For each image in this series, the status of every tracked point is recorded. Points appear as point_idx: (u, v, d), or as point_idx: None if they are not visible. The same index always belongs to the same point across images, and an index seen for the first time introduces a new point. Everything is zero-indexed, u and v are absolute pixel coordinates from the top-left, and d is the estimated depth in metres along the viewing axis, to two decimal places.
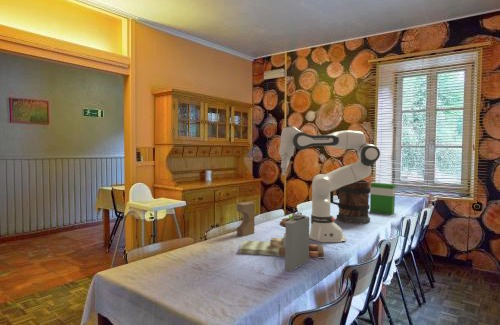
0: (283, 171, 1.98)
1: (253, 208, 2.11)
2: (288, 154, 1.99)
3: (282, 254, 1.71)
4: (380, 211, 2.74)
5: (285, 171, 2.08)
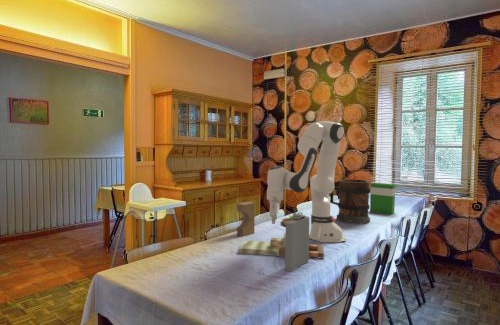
0: (273, 219, 1.71)
1: (253, 208, 2.11)
2: (277, 199, 1.72)
3: (282, 254, 1.71)
4: (380, 211, 2.74)
5: (276, 216, 1.81)
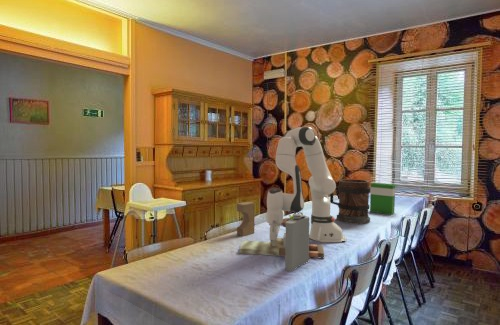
0: (273, 241, 1.74)
1: (253, 208, 2.11)
2: (277, 222, 1.73)
3: (282, 254, 1.71)
4: (380, 211, 2.74)
5: None
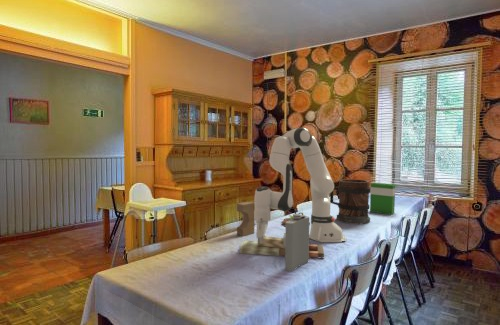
0: (260, 239, 1.75)
1: (253, 208, 2.11)
2: (264, 220, 1.74)
3: (282, 254, 1.71)
4: (380, 211, 2.74)
5: None
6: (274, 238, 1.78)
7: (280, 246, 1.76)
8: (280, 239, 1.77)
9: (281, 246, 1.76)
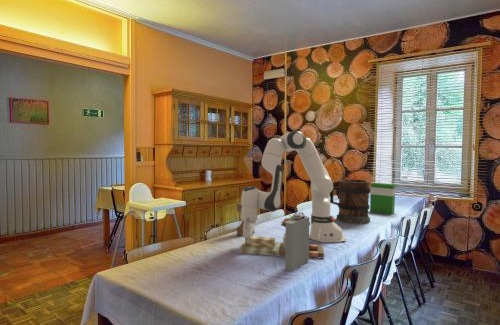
0: (247, 238, 1.76)
1: None
2: (251, 219, 1.76)
3: (282, 254, 1.71)
4: (380, 211, 2.74)
5: None
6: (262, 238, 1.79)
7: (267, 245, 1.77)
8: (267, 238, 1.78)
9: (268, 245, 1.77)
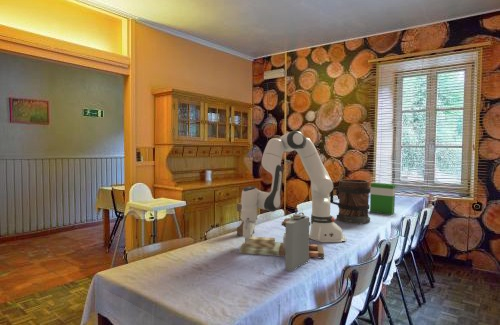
0: (247, 239, 1.75)
1: None
2: (251, 219, 1.76)
3: (282, 254, 1.71)
4: (380, 211, 2.74)
5: (251, 236, 1.84)
6: (261, 238, 1.79)
7: (267, 246, 1.77)
8: (267, 239, 1.78)
9: (268, 246, 1.77)
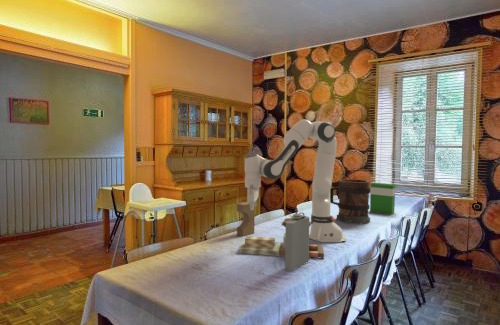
0: (251, 206, 1.77)
1: None
2: (254, 186, 1.78)
3: (282, 254, 1.71)
4: (380, 211, 2.74)
5: (255, 204, 1.87)
6: (261, 238, 1.79)
7: (267, 246, 1.77)
8: (267, 239, 1.78)
9: (268, 246, 1.77)
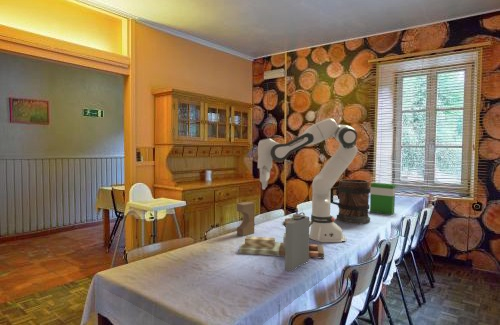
0: (263, 185, 1.93)
1: (253, 208, 2.11)
2: (266, 167, 1.93)
3: (282, 254, 1.71)
4: (380, 211, 2.74)
5: (266, 184, 2.02)
6: (261, 238, 1.79)
7: (267, 246, 1.77)
8: (267, 239, 1.78)
9: (268, 246, 1.77)
